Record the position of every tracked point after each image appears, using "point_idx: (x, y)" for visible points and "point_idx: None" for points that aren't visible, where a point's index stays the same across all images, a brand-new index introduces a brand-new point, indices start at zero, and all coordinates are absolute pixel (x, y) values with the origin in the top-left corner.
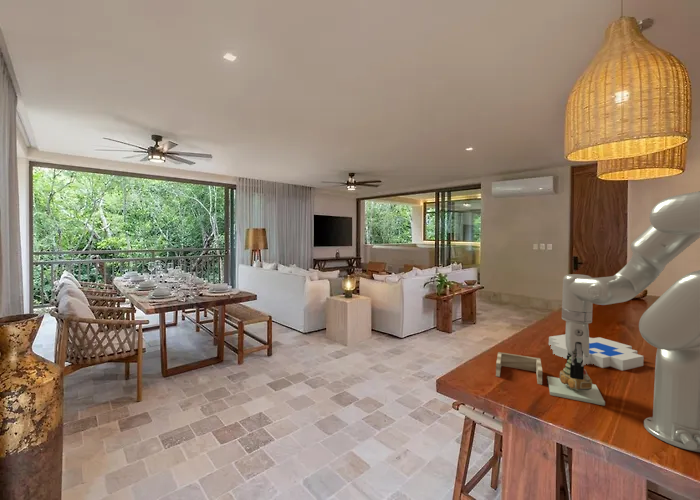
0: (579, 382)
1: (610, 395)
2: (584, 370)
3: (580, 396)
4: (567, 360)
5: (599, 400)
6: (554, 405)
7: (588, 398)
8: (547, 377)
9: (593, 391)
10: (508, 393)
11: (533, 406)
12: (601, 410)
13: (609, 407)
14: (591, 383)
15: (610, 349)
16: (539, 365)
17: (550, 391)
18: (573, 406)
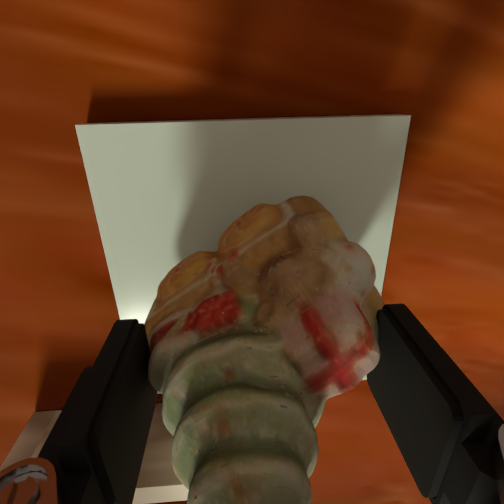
0: (382, 305)
1: (182, 30)
2: (372, 338)
3: (372, 253)
4: (137, 468)
5: (393, 148)
6: (471, 350)
7: (385, 212)
8: (157, 392)
9: (245, 165)
10: (406, 480)
11: (501, 412)
12: (472, 147)
13: (413, 86)
14: (332, 215)
15: None
16: (150, 494)
17: (363, 379)
18: (459, 280)
